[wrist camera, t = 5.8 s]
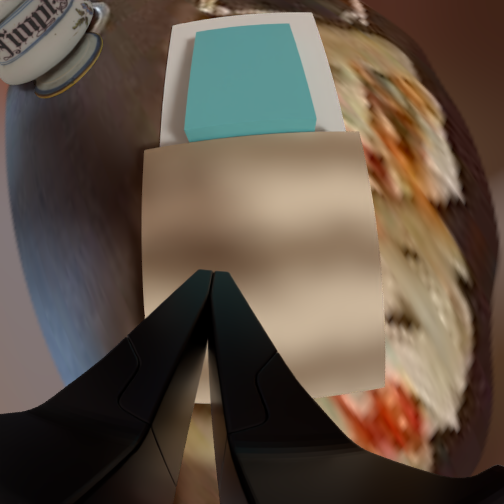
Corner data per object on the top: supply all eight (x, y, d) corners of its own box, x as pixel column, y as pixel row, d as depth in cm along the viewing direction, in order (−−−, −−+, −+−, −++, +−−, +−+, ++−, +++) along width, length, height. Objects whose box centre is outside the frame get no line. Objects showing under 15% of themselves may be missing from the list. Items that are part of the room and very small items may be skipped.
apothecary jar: (23, 77, 24) (-54, 6, 7) (95, 17, 25) (38, -74, 7) (37, 127, 23) (-76, 41, 5) (127, 51, 23) (50, -76, 5)
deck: (369, 374, 18) (384, 387, 15) (169, 386, 19) (154, 400, 16) (348, 150, 20) (358, 131, 17) (159, 166, 21) (144, 149, 18)
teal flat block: (316, 118, 16) (289, 23, 20) (184, 129, 17) (196, 32, 20) (313, 137, 18) (289, 40, 22) (191, 148, 19) (200, 48, 22)
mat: (347, 144, 20) (348, 143, 20) (160, 159, 21) (159, 158, 21) (311, 14, 22) (311, 12, 22) (173, 27, 23) (172, 25, 23)
